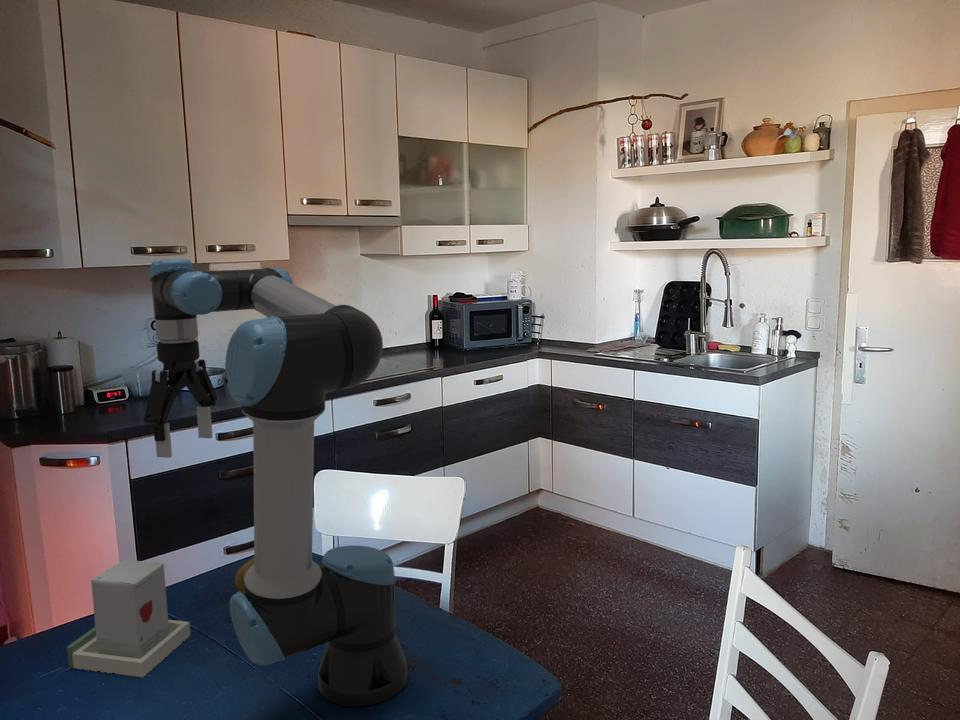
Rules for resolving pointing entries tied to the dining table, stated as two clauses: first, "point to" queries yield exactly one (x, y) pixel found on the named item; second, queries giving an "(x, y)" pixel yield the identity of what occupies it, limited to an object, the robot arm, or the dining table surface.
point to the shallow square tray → (87, 657)
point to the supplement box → (130, 608)
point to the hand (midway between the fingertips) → (185, 447)
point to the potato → (242, 575)
